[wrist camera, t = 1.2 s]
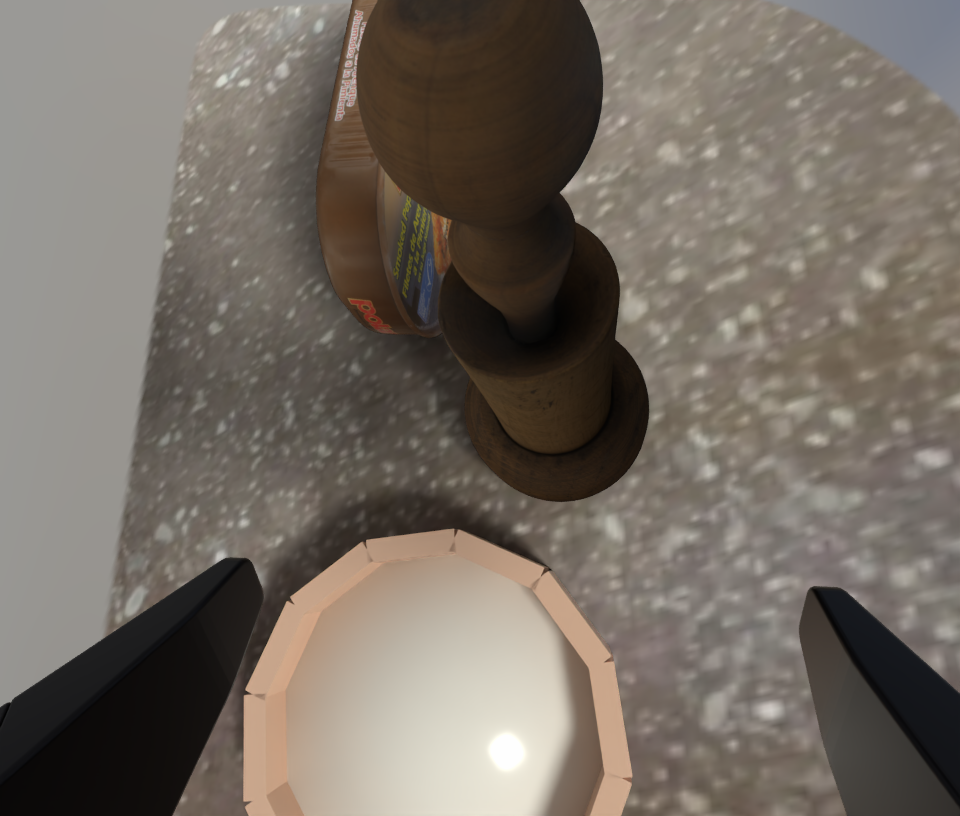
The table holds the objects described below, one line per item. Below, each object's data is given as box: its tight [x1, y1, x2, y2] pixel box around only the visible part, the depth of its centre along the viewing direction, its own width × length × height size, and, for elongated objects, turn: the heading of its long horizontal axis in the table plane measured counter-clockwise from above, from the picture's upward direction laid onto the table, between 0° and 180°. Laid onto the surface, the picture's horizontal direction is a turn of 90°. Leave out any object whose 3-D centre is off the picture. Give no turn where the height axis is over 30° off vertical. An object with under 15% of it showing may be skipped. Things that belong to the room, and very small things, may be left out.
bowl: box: [244, 529, 632, 816], centre depth 20 cm, size 13×13×2 cm
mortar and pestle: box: [356, 0, 649, 502], centre depth 15 cm, size 7×6×18 cm
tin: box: [316, 0, 452, 338], centre depth 23 cm, size 15×3×8 cm, turn 173°
